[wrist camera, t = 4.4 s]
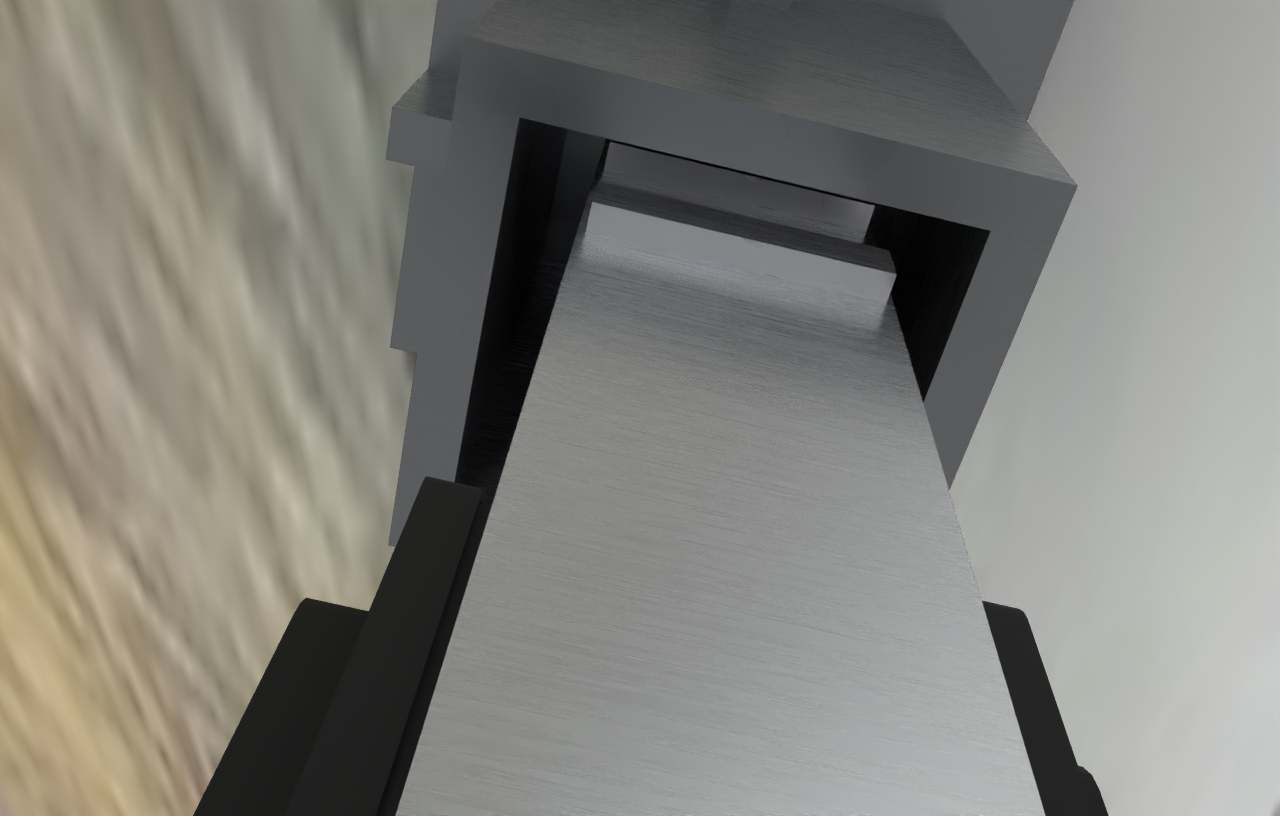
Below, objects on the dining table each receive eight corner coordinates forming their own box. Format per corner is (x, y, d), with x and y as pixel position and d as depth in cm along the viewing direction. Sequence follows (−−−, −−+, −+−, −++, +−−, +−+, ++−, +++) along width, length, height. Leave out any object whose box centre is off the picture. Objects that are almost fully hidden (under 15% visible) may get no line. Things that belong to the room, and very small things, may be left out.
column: (640, 24, 24) (326, 1012, 5) (837, 73, 24) (1208, 1189, 5) (590, 248, 26) (252, 1480, 7) (770, 291, 26) (871, 1592, 8)
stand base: (481, -232, 23) (296, -214, 13) (1084, -77, 24) (1338, 49, 14) (402, 325, 29) (233, 626, 19) (887, 437, 29) (968, 784, 19)
